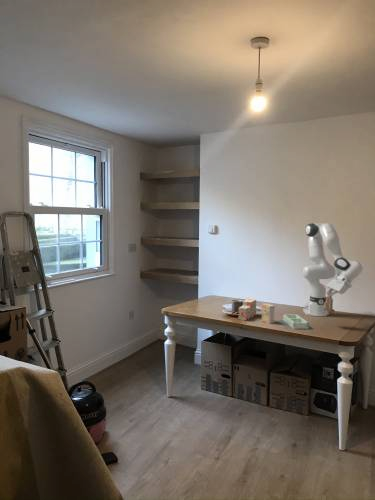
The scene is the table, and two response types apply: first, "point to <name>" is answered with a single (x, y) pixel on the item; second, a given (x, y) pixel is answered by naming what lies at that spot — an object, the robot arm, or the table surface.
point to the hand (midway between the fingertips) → (328, 294)
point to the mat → (289, 325)
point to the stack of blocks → (247, 309)
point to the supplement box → (267, 313)
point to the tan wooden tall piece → (329, 303)
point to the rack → (295, 321)
